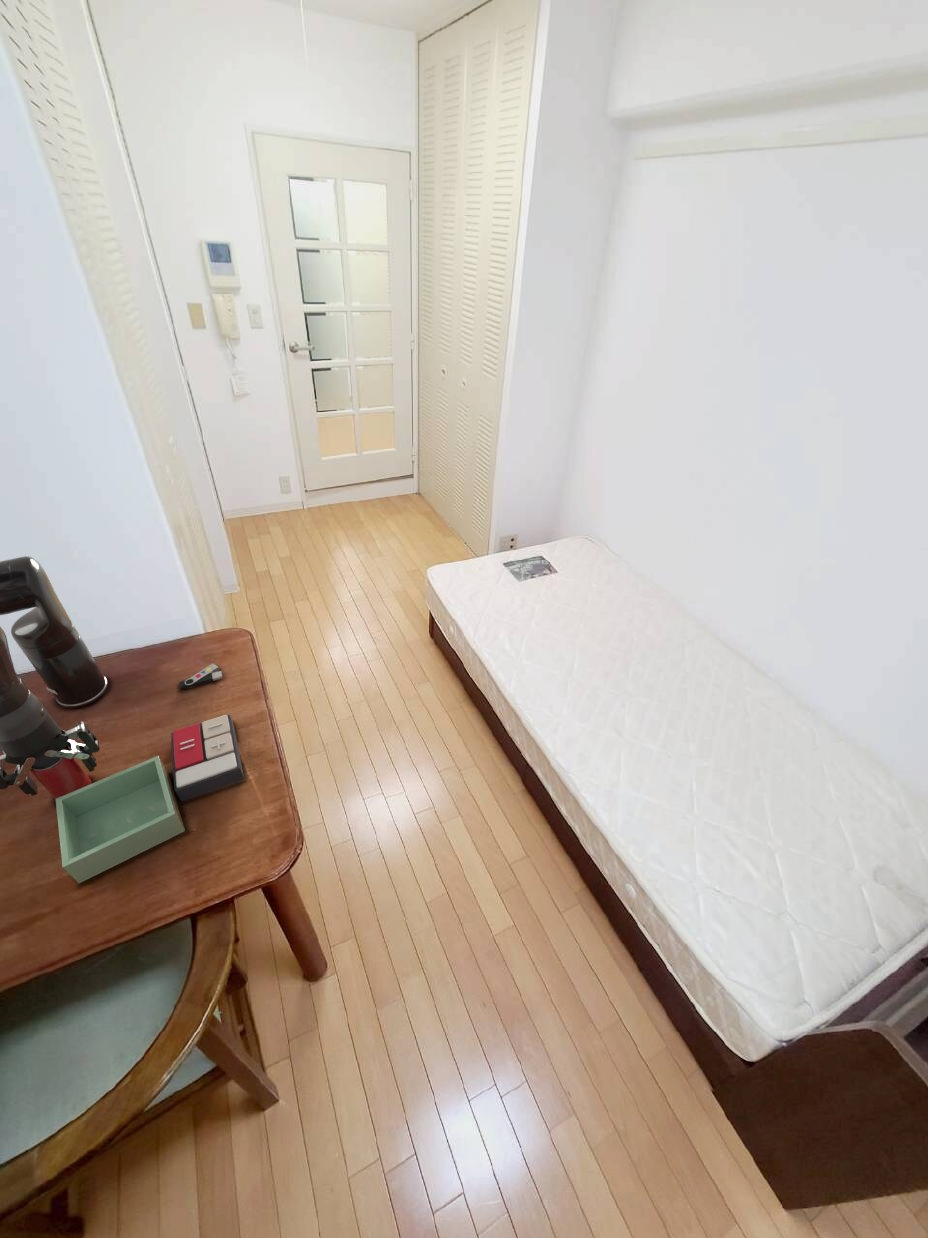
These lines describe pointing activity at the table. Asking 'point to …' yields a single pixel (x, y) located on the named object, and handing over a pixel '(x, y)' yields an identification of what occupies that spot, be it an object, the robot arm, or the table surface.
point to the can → (61, 776)
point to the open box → (116, 819)
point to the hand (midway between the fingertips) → (64, 779)
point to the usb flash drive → (202, 677)
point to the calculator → (205, 757)
